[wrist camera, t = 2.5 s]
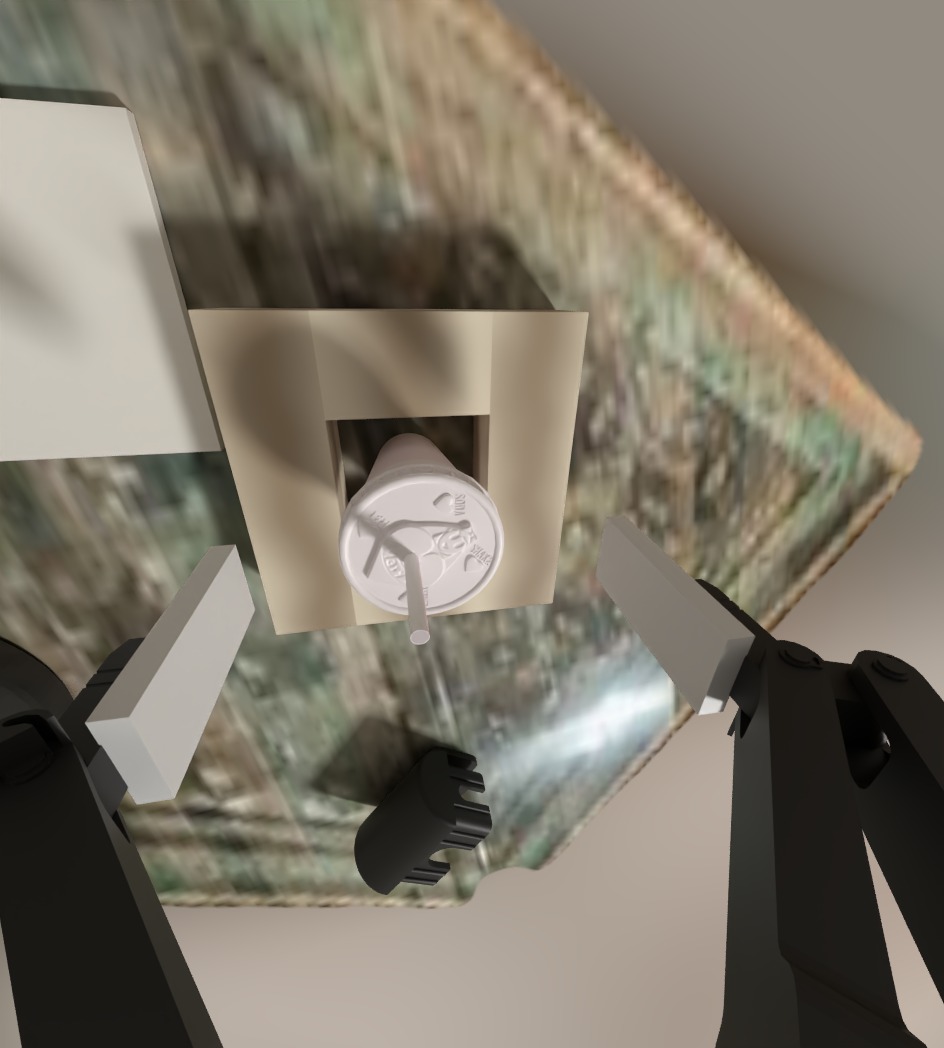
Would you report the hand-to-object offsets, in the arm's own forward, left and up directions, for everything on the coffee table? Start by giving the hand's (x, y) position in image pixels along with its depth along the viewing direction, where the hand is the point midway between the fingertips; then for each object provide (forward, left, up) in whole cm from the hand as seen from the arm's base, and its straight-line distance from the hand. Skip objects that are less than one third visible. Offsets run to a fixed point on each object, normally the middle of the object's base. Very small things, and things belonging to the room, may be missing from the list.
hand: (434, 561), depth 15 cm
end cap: (-1, -30, -11) cm, 32 cm away
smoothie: (0, 0, -11) cm, 11 cm away
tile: (-16, +8, -10) cm, 21 cm away
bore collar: (0, 0, -10) cm, 10 cm away
